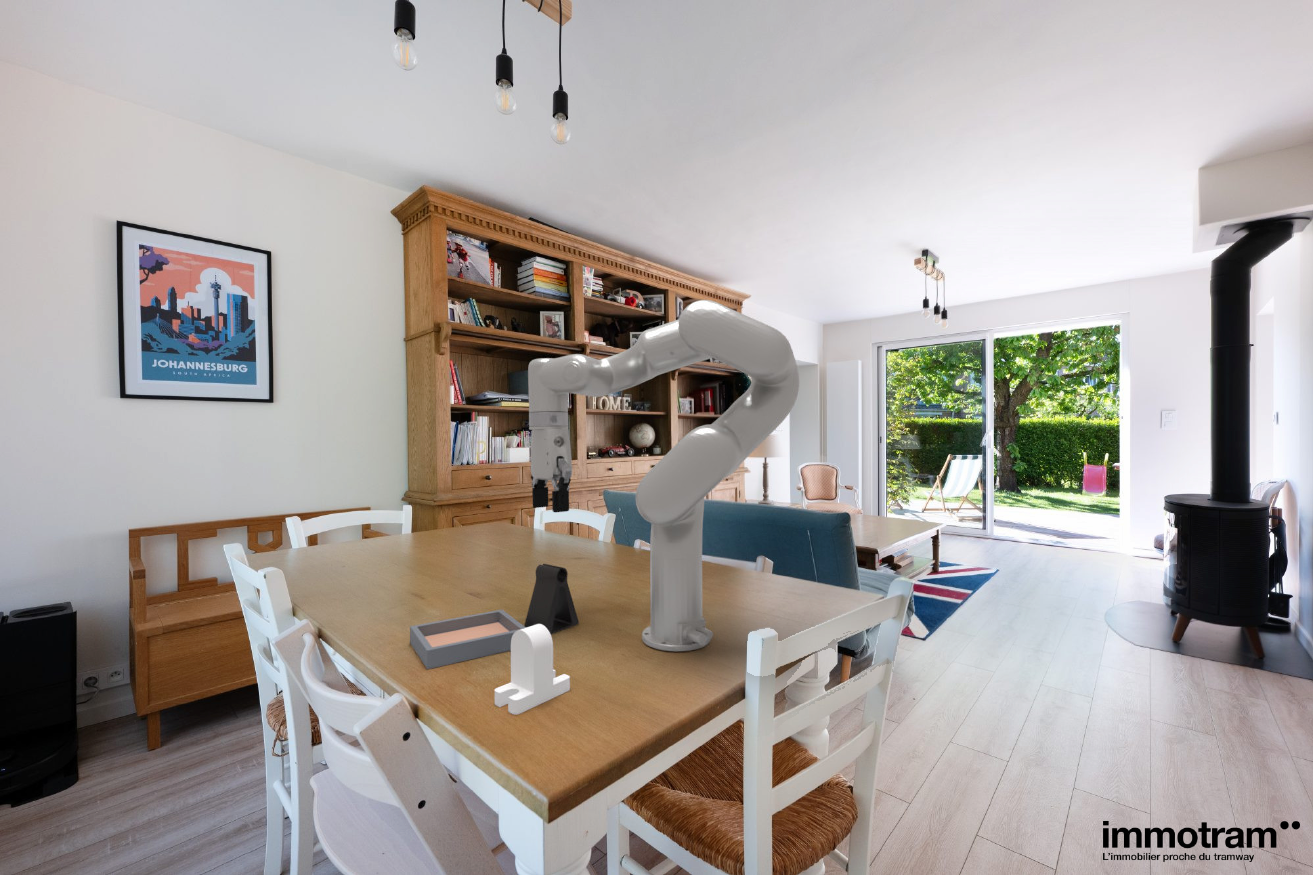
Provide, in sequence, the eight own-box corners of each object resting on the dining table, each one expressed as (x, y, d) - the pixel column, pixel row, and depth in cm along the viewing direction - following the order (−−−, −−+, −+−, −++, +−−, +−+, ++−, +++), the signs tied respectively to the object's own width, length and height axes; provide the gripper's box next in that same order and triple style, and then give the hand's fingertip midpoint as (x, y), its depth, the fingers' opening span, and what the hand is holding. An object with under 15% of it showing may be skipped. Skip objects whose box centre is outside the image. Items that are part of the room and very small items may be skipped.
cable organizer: (492, 703, 77) (492, 632, 77) (548, 679, 84) (548, 614, 84) (515, 715, 73) (515, 640, 73) (571, 689, 81) (571, 621, 81)
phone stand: (558, 618, 113) (558, 559, 113) (579, 624, 110) (578, 563, 110) (523, 630, 106) (523, 568, 106) (544, 637, 102) (543, 572, 102)
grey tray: (528, 646, 98) (528, 629, 98) (427, 669, 88) (427, 650, 88) (502, 624, 109) (502, 609, 109) (410, 642, 100) (410, 626, 100)
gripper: (586, 420, 103) (587, 511, 103) (548, 423, 117) (550, 504, 117) (548, 420, 99) (550, 515, 99) (514, 423, 113) (516, 507, 113)
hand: (550, 509), depth 108 cm, fingers open, 9 cm apart
